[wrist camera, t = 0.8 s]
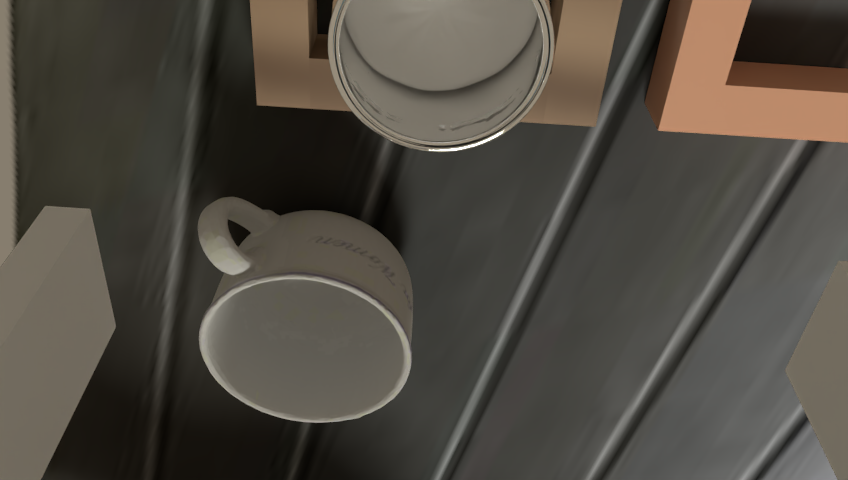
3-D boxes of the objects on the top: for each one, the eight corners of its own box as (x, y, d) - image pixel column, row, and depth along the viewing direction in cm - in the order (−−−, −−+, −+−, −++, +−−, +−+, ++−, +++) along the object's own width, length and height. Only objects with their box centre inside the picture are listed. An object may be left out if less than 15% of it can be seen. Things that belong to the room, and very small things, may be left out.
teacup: (439, 308, 48) (439, 407, 41) (277, 347, 50) (253, 447, 43) (356, 111, 40) (340, 194, 34) (169, 167, 42) (120, 256, 36)
